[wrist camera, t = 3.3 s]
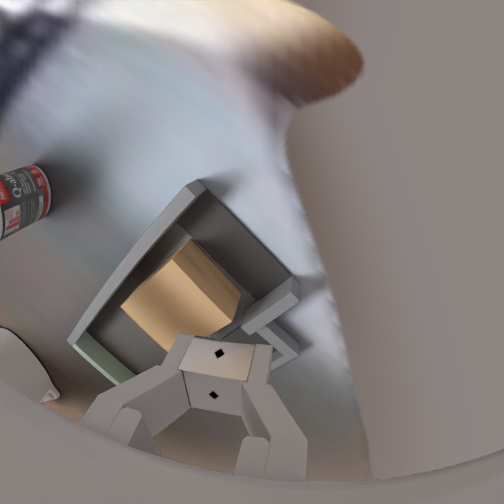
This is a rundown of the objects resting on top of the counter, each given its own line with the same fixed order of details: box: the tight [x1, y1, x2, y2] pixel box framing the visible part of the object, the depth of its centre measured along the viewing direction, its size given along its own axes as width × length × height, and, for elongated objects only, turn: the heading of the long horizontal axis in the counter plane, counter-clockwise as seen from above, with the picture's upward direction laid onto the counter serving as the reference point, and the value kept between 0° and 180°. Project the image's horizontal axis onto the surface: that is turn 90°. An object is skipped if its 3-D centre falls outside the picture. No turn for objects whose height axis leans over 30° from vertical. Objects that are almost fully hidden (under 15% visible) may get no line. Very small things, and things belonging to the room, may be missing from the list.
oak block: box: [121, 239, 242, 352], centre depth 22 cm, size 7×6×4 cm
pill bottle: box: [0, 166, 51, 240], centre depth 18 cm, size 6×6×10 cm
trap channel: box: [67, 179, 300, 386], centre depth 25 cm, size 24×16×2 cm, turn 134°
